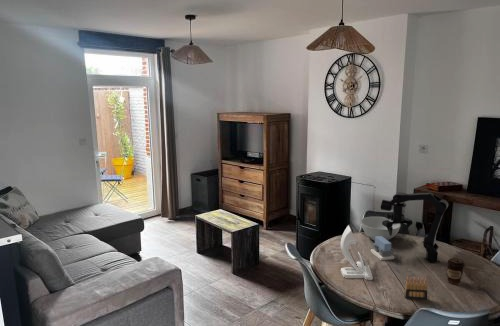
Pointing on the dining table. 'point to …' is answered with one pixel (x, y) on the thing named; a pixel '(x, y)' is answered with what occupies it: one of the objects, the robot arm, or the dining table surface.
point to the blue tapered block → (383, 243)
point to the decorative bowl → (378, 227)
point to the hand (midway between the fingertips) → (396, 235)
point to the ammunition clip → (416, 289)
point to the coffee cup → (454, 270)
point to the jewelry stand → (354, 271)
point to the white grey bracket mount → (381, 253)
